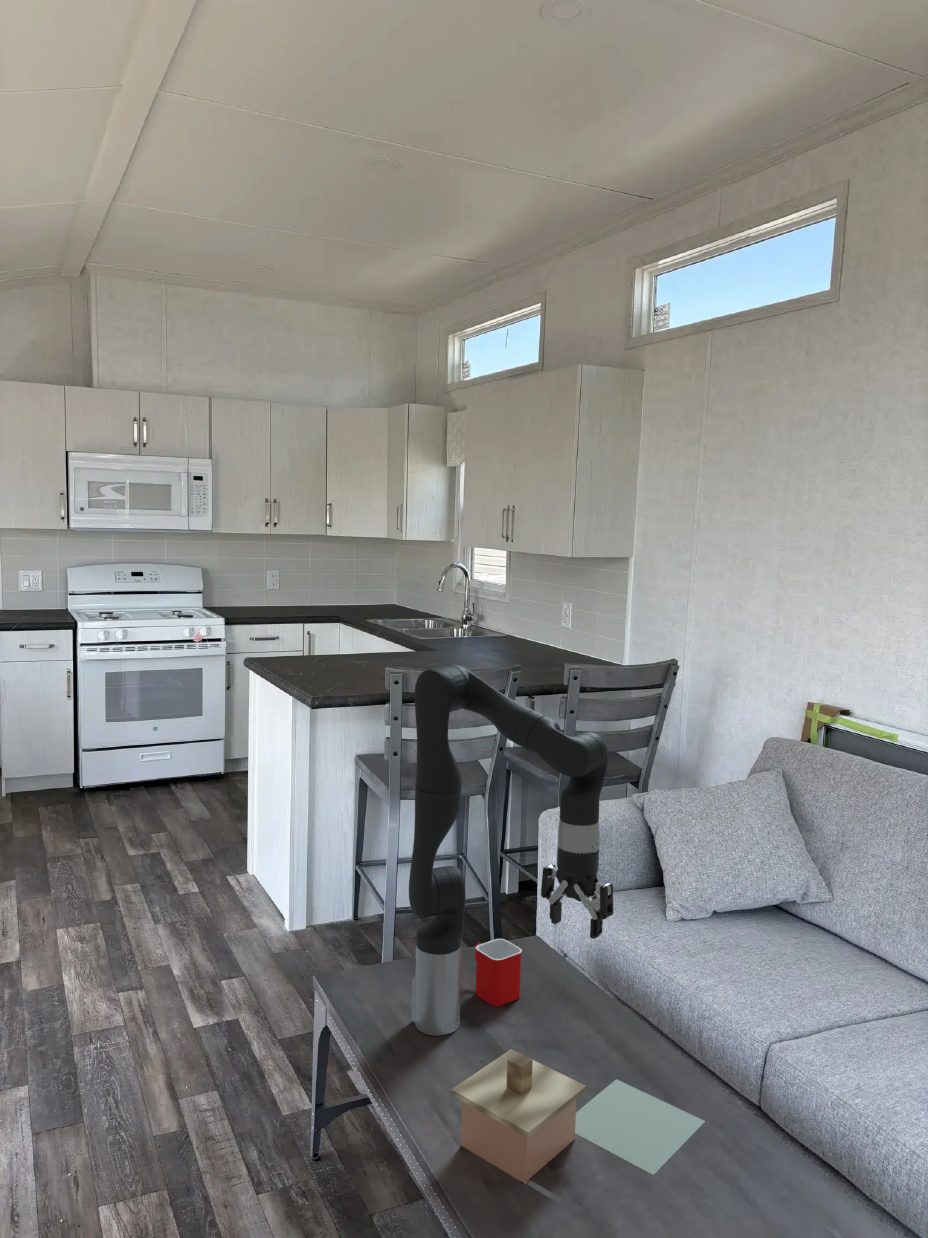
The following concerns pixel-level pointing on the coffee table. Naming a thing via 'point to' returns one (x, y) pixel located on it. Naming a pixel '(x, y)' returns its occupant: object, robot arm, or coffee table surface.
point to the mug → (498, 971)
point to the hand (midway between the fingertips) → (575, 929)
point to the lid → (519, 1092)
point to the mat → (635, 1126)
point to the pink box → (516, 1141)
